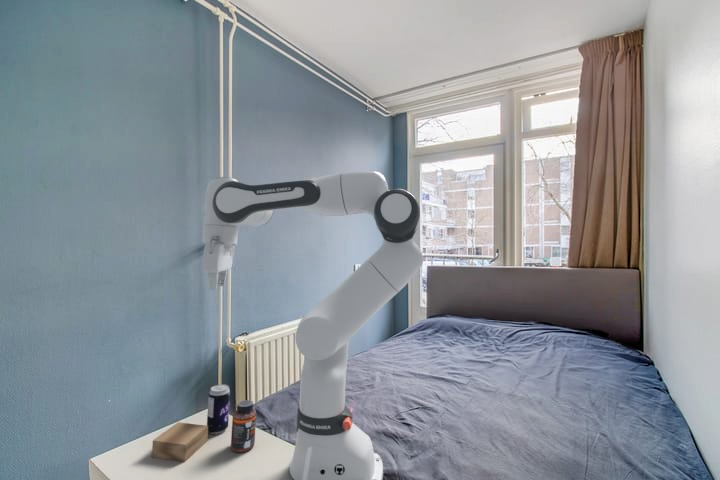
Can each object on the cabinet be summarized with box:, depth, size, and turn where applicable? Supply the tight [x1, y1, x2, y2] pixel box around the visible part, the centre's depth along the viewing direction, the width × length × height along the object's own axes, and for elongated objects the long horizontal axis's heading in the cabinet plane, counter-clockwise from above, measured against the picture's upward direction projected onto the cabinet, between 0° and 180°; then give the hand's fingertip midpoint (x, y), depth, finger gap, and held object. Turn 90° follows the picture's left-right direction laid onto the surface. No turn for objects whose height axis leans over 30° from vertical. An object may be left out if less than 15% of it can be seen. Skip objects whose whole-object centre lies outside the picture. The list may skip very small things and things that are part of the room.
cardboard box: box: [151, 421, 209, 463], centre depth 83 cm, size 9×9×4 cm
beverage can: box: [206, 383, 231, 435], centre depth 93 cm, size 6×6×12 cm
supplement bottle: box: [230, 399, 257, 453], centre depth 85 cm, size 6×6×11 cm
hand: (217, 287), depth 88 cm, fingers open, 8 cm apart
